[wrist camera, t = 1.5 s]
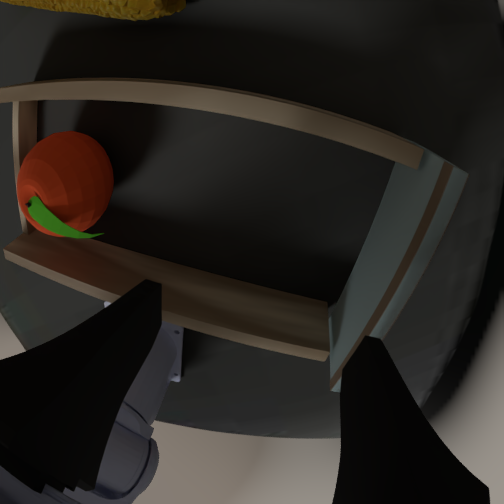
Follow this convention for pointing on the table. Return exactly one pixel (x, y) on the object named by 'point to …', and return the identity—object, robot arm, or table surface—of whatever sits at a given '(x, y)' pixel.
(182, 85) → the crate
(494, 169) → the table surface
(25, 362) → the robot arm
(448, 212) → the panel
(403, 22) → the table surface
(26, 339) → the table surface
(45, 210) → the clementine
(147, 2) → the food
